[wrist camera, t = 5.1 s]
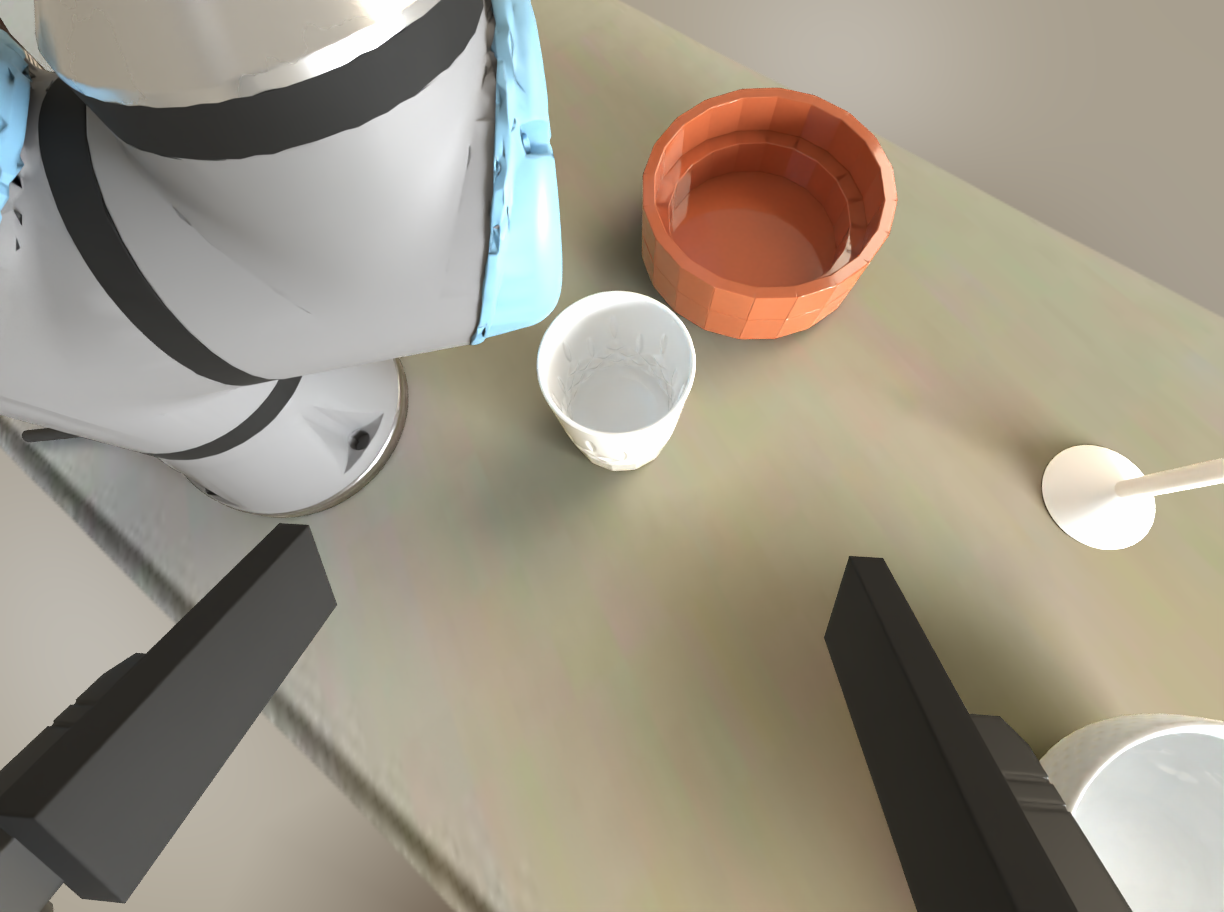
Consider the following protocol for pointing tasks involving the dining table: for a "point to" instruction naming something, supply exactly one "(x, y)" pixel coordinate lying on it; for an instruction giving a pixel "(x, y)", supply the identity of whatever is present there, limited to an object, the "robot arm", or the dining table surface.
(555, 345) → the white cup
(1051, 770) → the cereal bowl
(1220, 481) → the champagne flute
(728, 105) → the terracotta bowl
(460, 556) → the dining table surface
